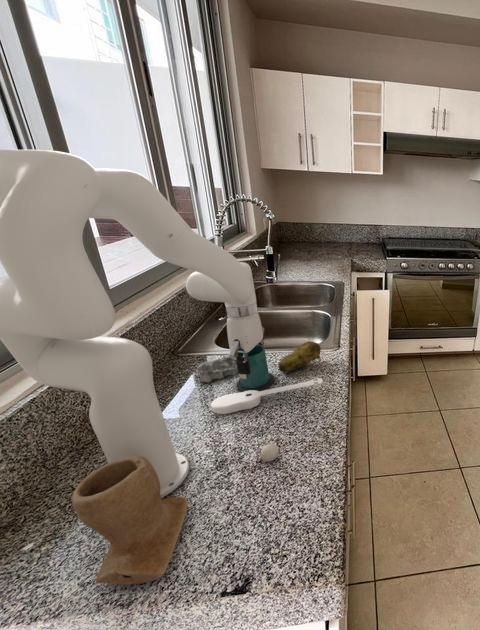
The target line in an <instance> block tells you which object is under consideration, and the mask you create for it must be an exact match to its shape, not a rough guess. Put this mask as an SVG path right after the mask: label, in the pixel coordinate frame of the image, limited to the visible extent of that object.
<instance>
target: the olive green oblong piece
mask: <svg viewBox="0 0 480 630" xmlns="http://www.w3.org/2000/svg"><path fill="white" fill-rule="evenodd" d="M321 351H322V349H321V345H320V344H319V343H318V342H315V341H306V342H303V343H302V344H301V345H298V346H297V348H295V349H294V350H293V351H292V352H291V353H290V354H287V355H286V356H285V357H283V358H282V359H280V361H279V362H278V370H279V371H280V372H282V373H291V372H292V371H295V370H298V369H301V368H304V367H305V366H307V365H309V364H310V363H311V362H313V361H316V360H318V359H320V357H321V356H320V355H321Z"/></svg>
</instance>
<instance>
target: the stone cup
mask: <svg viewBox="0 0 480 630" xmlns="http://www.w3.org/2000/svg"><path fill="white" fill-rule="evenodd" d="M188 502H189V501H188V498H186V497H183V496H176V497H175V496H174V497H167V498H161V495H160V481H159V479H158V476H157V473H156V471H155V470H154V468H153V466H152V465H151V464H150V462H149V461H148V460H147V459H146V458H144V457H141V456H128V457H124V458H120V459H118V460H115V461H112V462H110V463H108V462H107V463H105V464H104V465H101V466H100V467H99V468H97V469H96V470H94V471H93V472H92V471H91V473H89V474H88V475H87V476H86V477H84V478H83V479H82V480H81V481H80V483H78V485H77V486H76V487H75V489H74V491H73V493H72V495H71V504H72V507H73V510H74V512H75V514H76V515H77V517H78V519H79V520H80V521H81V522H82V524H84V525H86V526H87V527H88V528H90V529H92V530H93V531H95V533H98V534H99V535H100V536H102V537H103V538H104V539H106V540H107V541H108V542H109V543H110V546H109V548H108V551H107V553H106V555H105V557H104V560H103V563H102V565H101V566H100V569H99V571H98V573H97V575H96V577H95V582H96V583H97V584H110V585H113V586H115V585H120V586H121V585H126V586H130V585H134V584H135V585H138V584H139V585H141V584H146V583H148V582H154V581H155V580H158V579H160V578H162V577H163V576H164V574H165V573H166V570H167V568H168V566H169V563H170V561H171V558H172V556H173V553H174V550H175V548H176V545H177V542H178V539H179V537H180V534H181V531H182V528H183V526H184V523H185V518H186V515H187V511H188V504H189V503H188Z"/></svg>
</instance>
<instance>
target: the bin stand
mask: <svg viewBox="0 0 480 630" xmlns="http://www.w3.org/2000/svg"><path fill="white" fill-rule="evenodd" d="M269 377H270V380H269V381H268V382H267V383H266V384H264V385H262V386H260V387H256V388H245V387H243V386H241V382H240V379H239V380H238V381H237V383H236V389H237V390H238V391H239V392H240V393H241V392H244V391H249V390H256V391H264V390H268V389H269V388H270V387H271V386H272V385H273V384H274V382H275V377H274V375H273V374H272V373H270V372H269Z"/></svg>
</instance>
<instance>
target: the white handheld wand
mask: <svg viewBox="0 0 480 630" xmlns="http://www.w3.org/2000/svg"><path fill="white" fill-rule="evenodd" d="M323 383H324V380H323V379H322V378H320V377H319V378H312V379H311V380H307V381H302V382H299V383H294V384H289V385H284V386H279V387H274V388H268V389H265V390H262V391H256V390H249V391H244V392H241V391H240V392H235V393H234V392H233V393H228V394H224V395H222V396H219V397H217V398H215V399H213V400H212V401H211V403H210V406H211V410H212V412H214V413H216V415H226V414H227V415H229V414H232V413H236V412H239V411H243V410H244V411H245V410H250V409H253V408H255V407H258V405H260V403H261V400H262V397H264V396H266V395H272V394H276V393H281V392H286V391H291V390H295V389H300V388H301V389H302V388H305V387H311V386H312V387H313V386H314V387H315V386H320V385H322V384H323Z"/></svg>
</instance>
